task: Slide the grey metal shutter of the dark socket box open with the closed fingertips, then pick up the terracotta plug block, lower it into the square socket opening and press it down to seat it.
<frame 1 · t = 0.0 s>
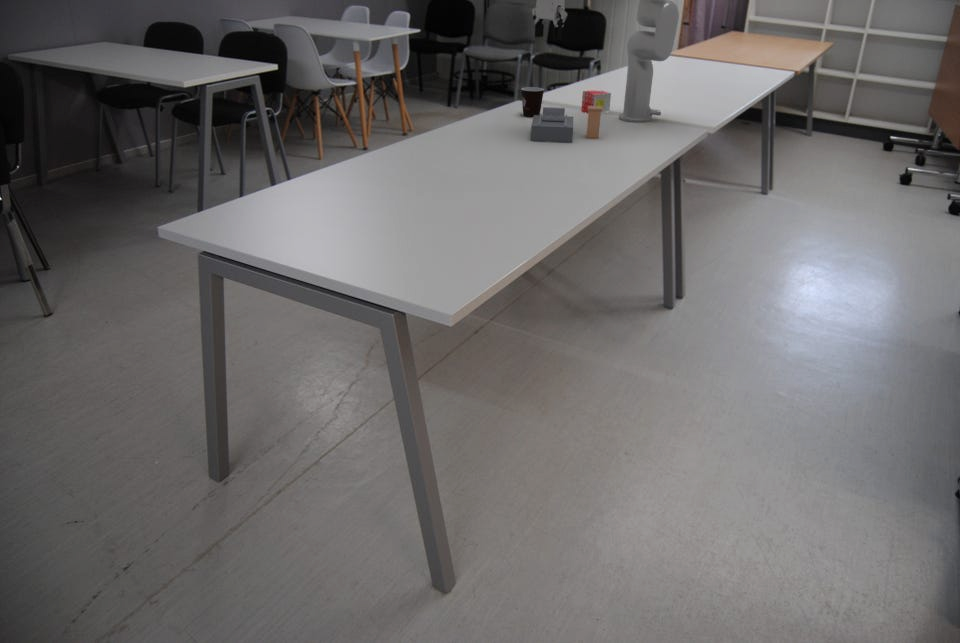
hand: (547, 38, 248), 31 cm above the table, tool pointing down, fingers open, 9 cm apart
puzzle cube: (595, 113, 295), on the table
dark brown cup: (531, 115, 289), on the table
shutter: (552, 135, 258), resting on socket box, slide at 0.0 cm
socket box: (552, 135, 258), on the table
plug: (592, 136, 257), on the table
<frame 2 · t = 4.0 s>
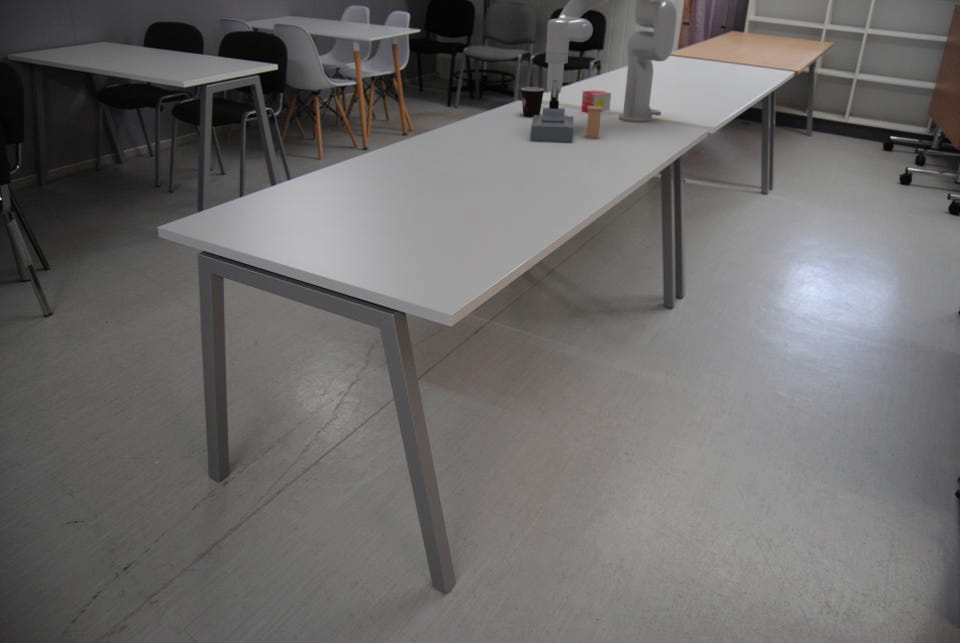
hand: (553, 112, 262), 6 cm above the table, tool pointing down, fingers closed
shutter: (552, 136, 257), resting on socket box, slide at 0.8 cm, touching gripper
everything else where it was.
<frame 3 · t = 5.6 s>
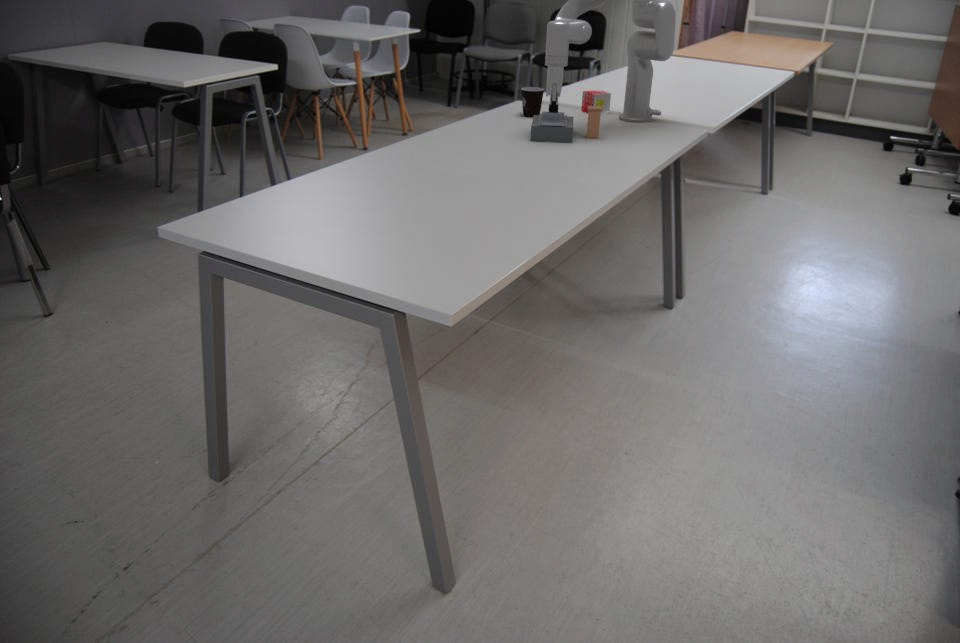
hand: (553, 116, 255), 6 cm above the table, tool pointing down, fingers closed
shutter: (551, 140, 251), resting on socket box, slide at 7.9 cm, touching gripper
everything else where it was.
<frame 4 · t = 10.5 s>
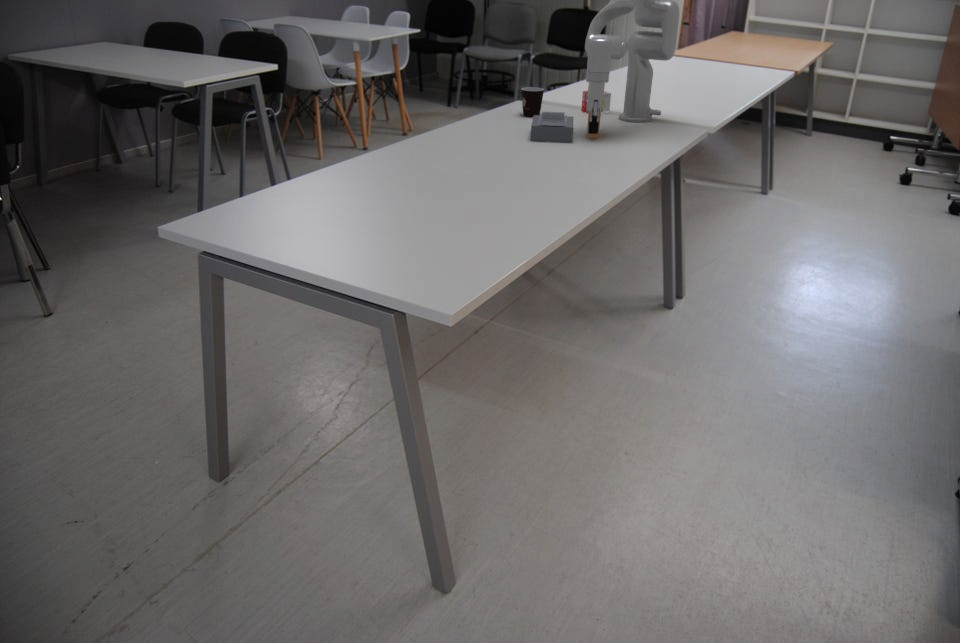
hand: (593, 131, 256), 2 cm above the table, tool pointing down, fingers closed on plug, 4 cm apart
shutter: (551, 140, 250), resting on socket box, slide at 7.9 cm
plug: (592, 136, 257), on the table, touching gripper
everything else where it was.
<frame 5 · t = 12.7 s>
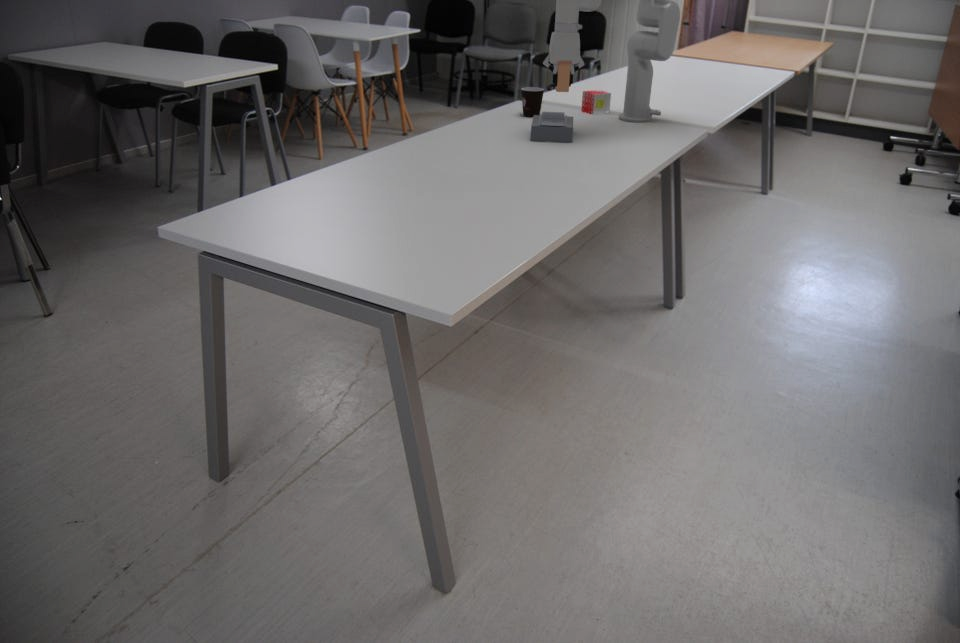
hand: (562, 85, 252), 17 cm above the table, tool pointing down, fingers closed on plug, 4 cm apart
plug: (562, 90, 253), point 15 cm above the table, touching gripper
everything else where it was.
when the fingers open (6 cm above the table, at t = 15.2 s): plug drops 4 cm, resting in socket box.
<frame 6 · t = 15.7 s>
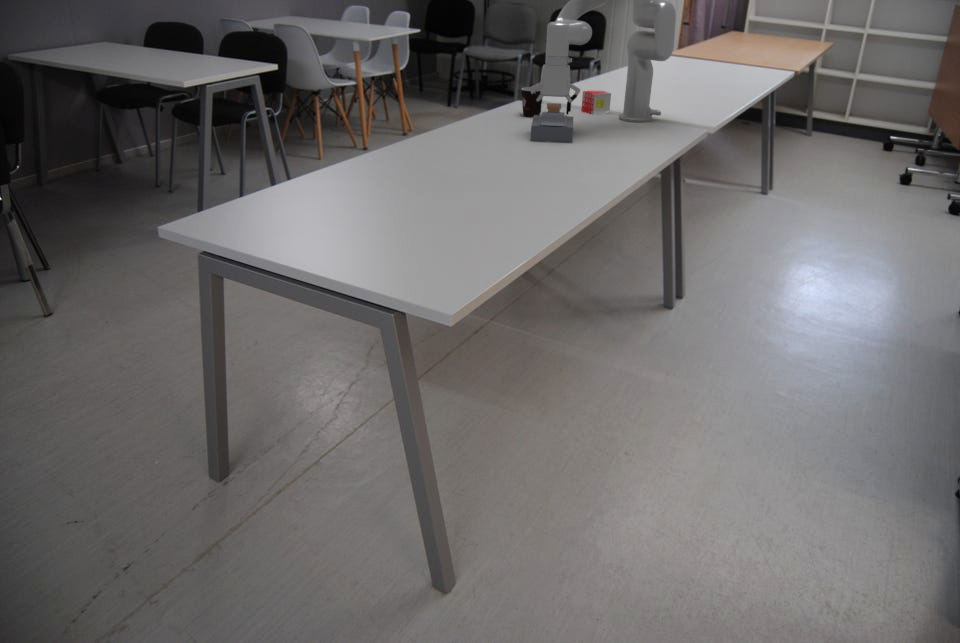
hand: (553, 113, 257), 7 cm above the table, tool pointing down, fingers open, 9 cm apart
plug: (552, 133, 260), resting in socket box
everything else where it was.
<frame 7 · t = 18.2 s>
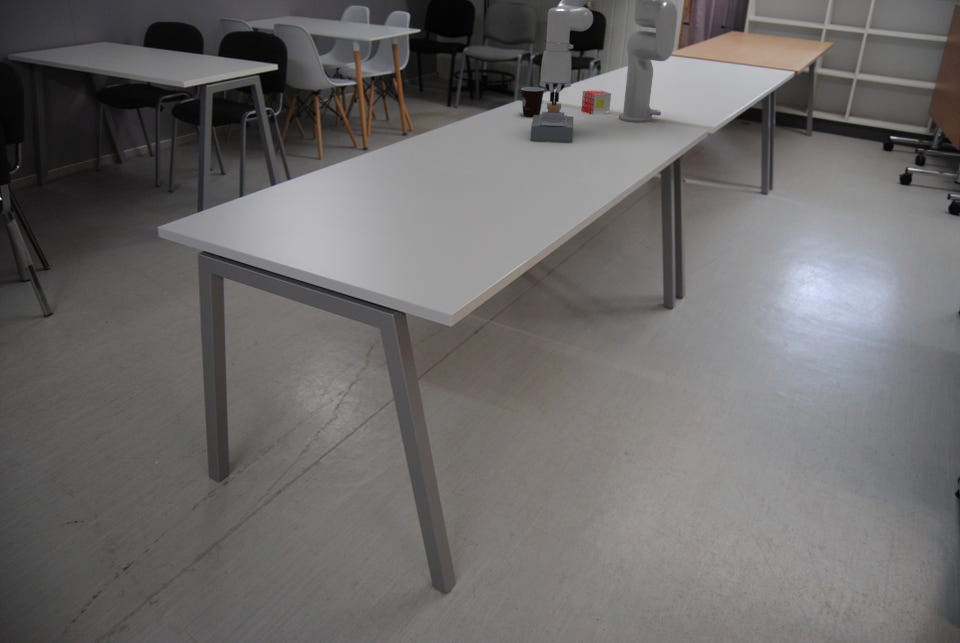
hand: (554, 103, 256), 10 cm above the table, tool pointing down, fingers closed
nothing on the table moved.
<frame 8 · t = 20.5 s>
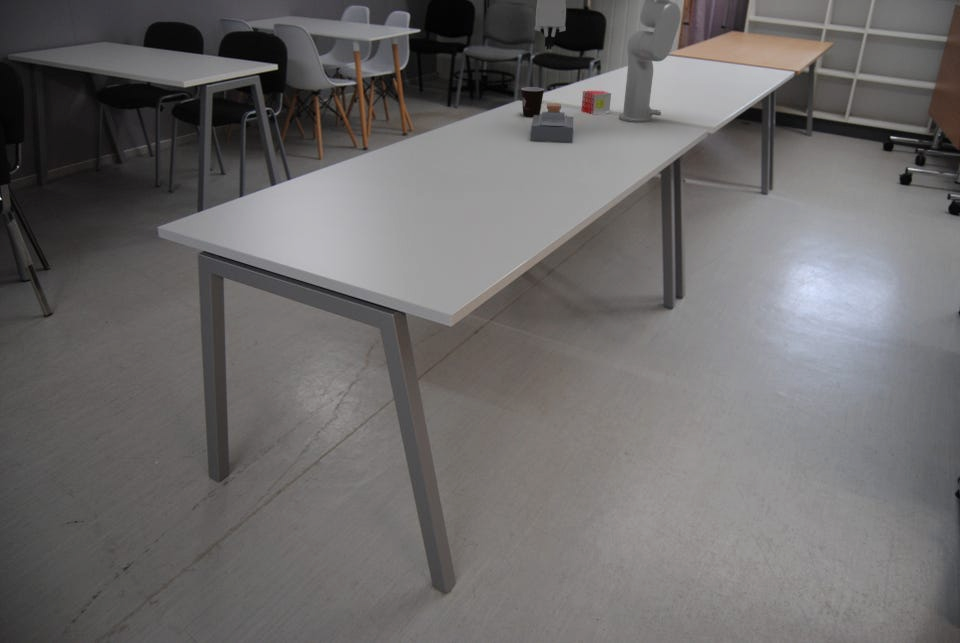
hand: (548, 48, 256), 27 cm above the table, tool pointing down, fingers closed
nothing on the table moved.
at the end: plug 0.0 cm from the target spot on the socket box, point 0.0 cm above the socket box's base; plug tilted 0°; shutter slide at 7.9 cm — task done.
